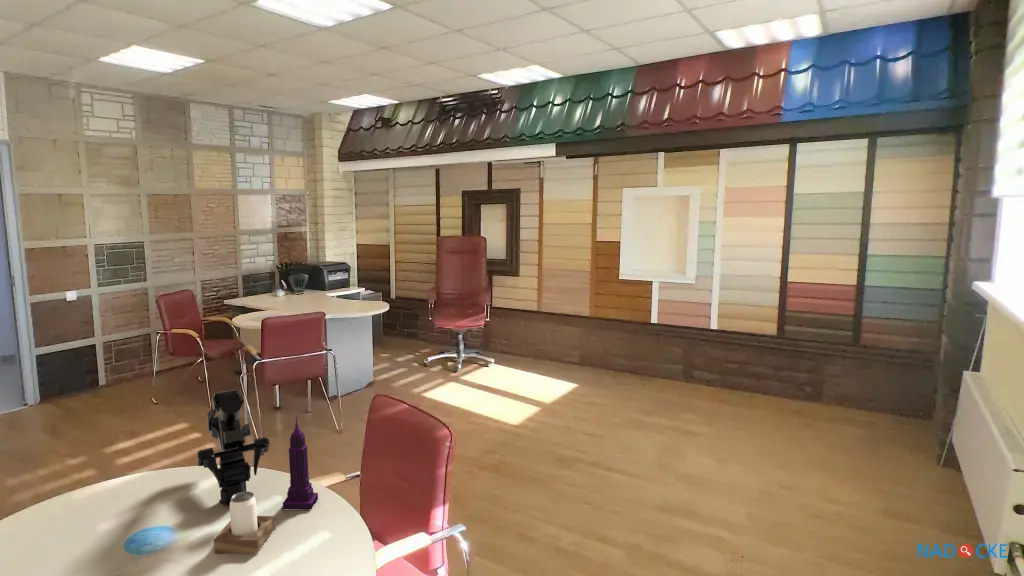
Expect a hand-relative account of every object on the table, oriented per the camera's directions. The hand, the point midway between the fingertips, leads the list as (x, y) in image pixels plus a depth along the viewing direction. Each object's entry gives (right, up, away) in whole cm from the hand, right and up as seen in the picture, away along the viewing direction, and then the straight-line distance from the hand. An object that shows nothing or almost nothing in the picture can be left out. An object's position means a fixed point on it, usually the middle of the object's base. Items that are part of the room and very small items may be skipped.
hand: (238, 478), depth 162 cm
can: (+5, -14, -7) cm, 16 cm away
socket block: (+5, -15, -7) cm, 17 cm away
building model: (+13, -12, +12) cm, 22 cm away
